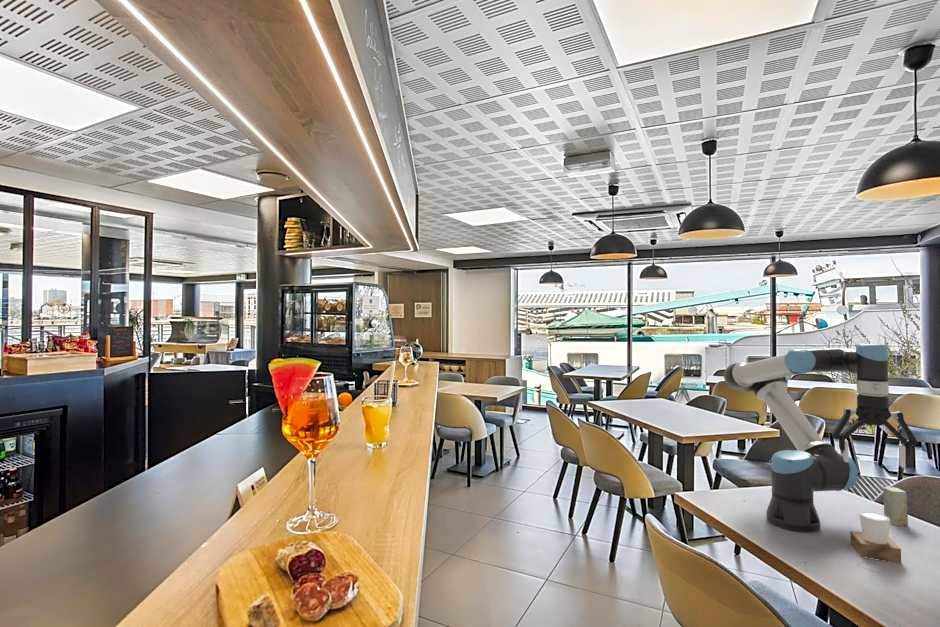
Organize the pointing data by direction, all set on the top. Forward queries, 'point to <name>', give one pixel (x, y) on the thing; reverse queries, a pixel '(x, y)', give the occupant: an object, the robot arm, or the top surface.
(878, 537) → the white cylinder
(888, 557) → the walnut block
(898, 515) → the box
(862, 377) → the robot arm
